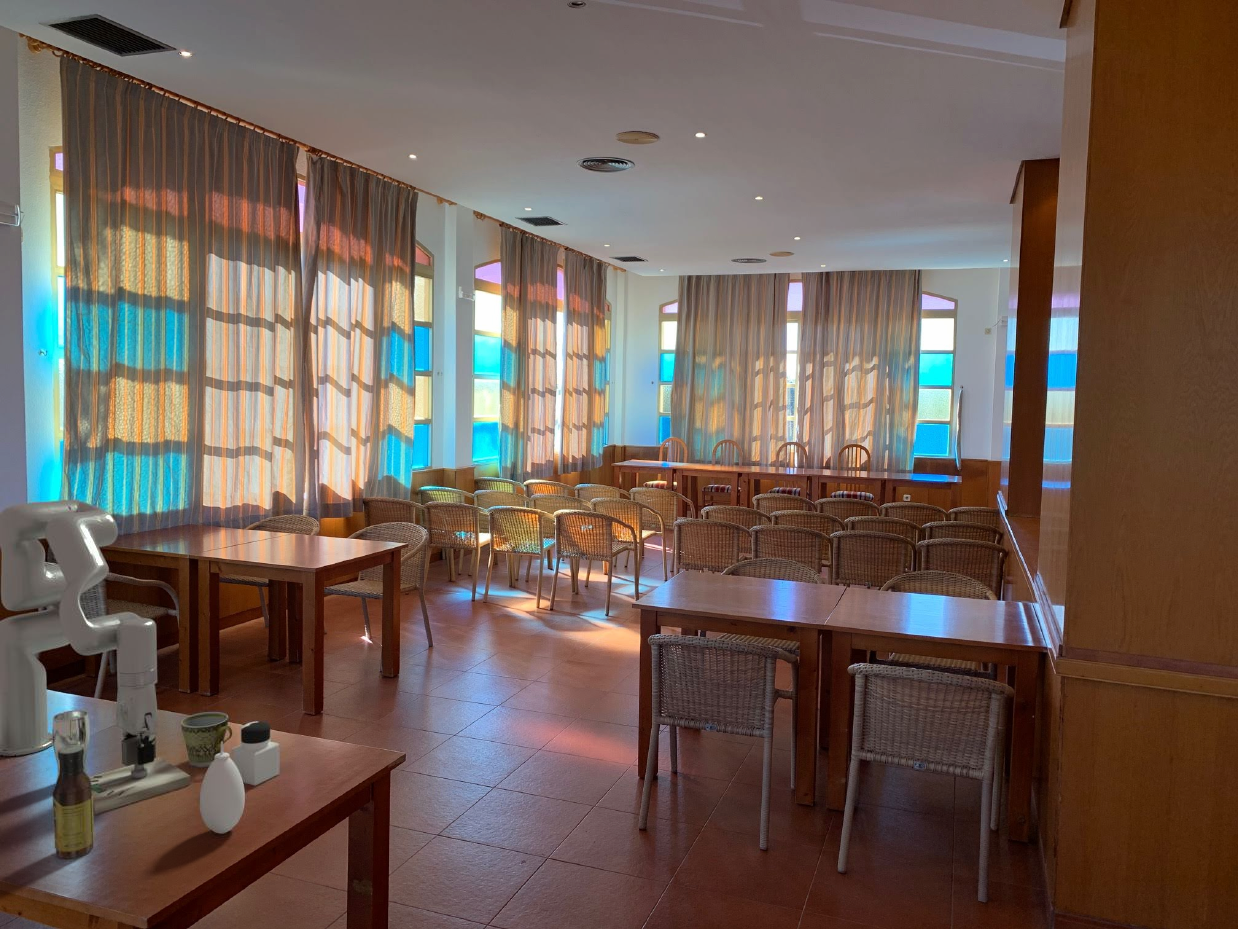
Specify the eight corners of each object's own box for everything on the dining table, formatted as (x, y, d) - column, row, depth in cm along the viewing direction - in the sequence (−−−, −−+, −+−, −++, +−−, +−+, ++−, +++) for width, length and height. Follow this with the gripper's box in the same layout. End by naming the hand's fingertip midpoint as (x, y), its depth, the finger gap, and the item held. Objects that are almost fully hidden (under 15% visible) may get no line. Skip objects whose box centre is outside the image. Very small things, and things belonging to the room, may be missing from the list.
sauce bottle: (66, 844, 170) (63, 740, 169) (100, 843, 171) (98, 740, 169) (47, 862, 164) (44, 754, 162) (83, 861, 164) (80, 754, 163)
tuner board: (67, 792, 192) (67, 782, 192) (159, 765, 206) (159, 756, 206) (95, 814, 182) (95, 803, 182) (190, 784, 197) (190, 774, 197)
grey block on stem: (96, 785, 191) (95, 747, 190) (150, 769, 199) (149, 732, 199) (102, 789, 189) (101, 750, 188) (156, 773, 197) (156, 736, 197)
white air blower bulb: (227, 818, 182) (226, 730, 180) (253, 828, 178) (252, 739, 176) (191, 834, 175) (190, 743, 174) (217, 845, 171) (216, 752, 170)
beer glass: (73, 791, 193) (71, 722, 192) (45, 787, 194) (43, 719, 193) (98, 778, 199) (97, 711, 198) (71, 774, 201) (69, 708, 200)
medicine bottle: (280, 774, 203) (279, 722, 202) (255, 786, 197) (254, 732, 196) (256, 768, 206) (256, 716, 205) (231, 780, 200) (230, 726, 199)
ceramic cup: (171, 766, 207) (170, 723, 206) (206, 750, 216) (205, 709, 215) (214, 775, 202) (214, 731, 201) (248, 759, 211) (248, 717, 210)
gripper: (102, 672, 197) (104, 753, 198) (136, 690, 186) (137, 775, 187) (138, 665, 203) (140, 743, 204) (173, 681, 192) (174, 764, 193)
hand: (138, 758), depth 196 cm, fingers open, 6 cm apart
